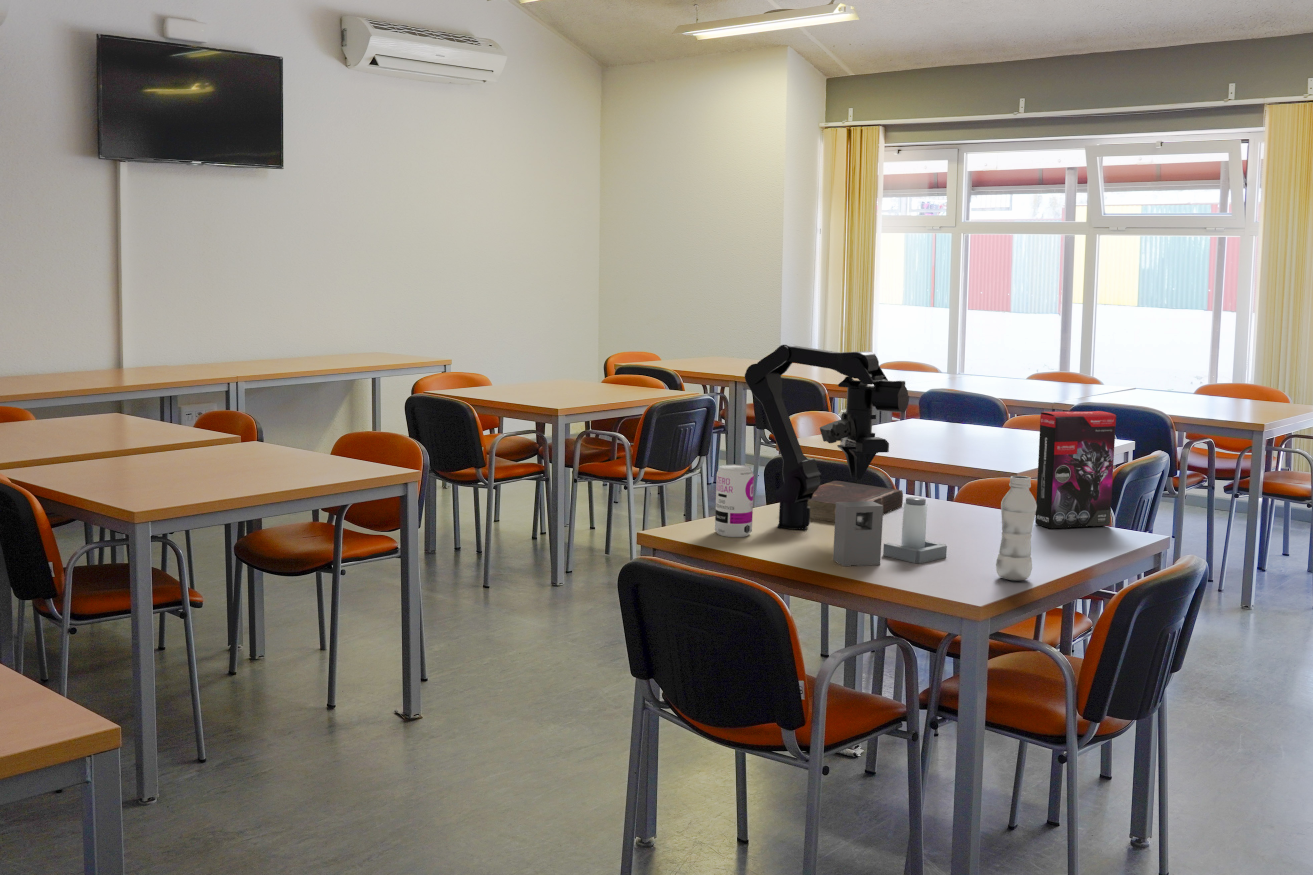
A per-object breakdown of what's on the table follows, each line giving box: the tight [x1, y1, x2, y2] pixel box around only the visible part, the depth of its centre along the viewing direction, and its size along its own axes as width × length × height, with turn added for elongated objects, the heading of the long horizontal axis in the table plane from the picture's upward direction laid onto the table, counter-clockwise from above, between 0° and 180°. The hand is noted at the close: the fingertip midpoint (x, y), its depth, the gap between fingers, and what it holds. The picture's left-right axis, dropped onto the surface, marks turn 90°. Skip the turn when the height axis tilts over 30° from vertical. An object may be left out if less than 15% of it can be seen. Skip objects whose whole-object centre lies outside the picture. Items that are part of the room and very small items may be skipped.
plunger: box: [835, 508, 867, 527], centre depth 231 cm, size 9×4×4 cm, turn 15°
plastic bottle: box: [995, 475, 1037, 582], centre depth 218 cm, size 6×7×20 cm
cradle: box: [882, 539, 948, 564], centre depth 236 cm, size 9×10×2 cm
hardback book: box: [807, 480, 904, 523], centre depth 283 cm, size 29×19×5 cm, turn 147°
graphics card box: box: [1034, 410, 1117, 529], centre depth 270 cm, size 17×7×27 cm, turn 107°
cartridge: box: [900, 496, 928, 549], centre depth 236 cm, size 5×5×12 cm
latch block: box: [832, 501, 884, 567], centre depth 229 cm, size 5×8×12 cm, turn 105°
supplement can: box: [714, 464, 755, 538], centre depth 252 cm, size 8×8×15 cm
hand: (856, 479), depth 251 cm, fingers closed
